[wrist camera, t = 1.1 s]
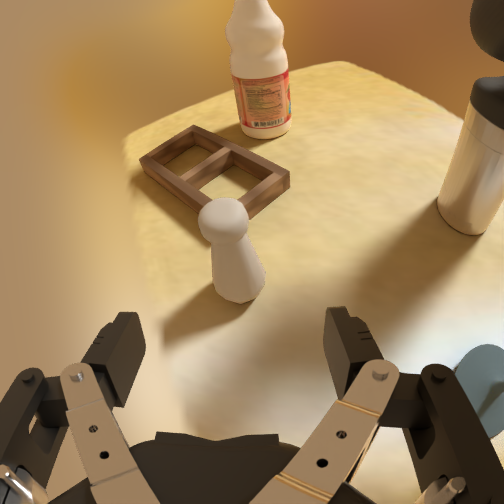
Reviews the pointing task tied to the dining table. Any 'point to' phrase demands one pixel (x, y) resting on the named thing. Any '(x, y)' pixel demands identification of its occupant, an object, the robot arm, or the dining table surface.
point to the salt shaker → (231, 250)
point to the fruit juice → (259, 69)
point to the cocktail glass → (484, 385)
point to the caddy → (214, 170)
